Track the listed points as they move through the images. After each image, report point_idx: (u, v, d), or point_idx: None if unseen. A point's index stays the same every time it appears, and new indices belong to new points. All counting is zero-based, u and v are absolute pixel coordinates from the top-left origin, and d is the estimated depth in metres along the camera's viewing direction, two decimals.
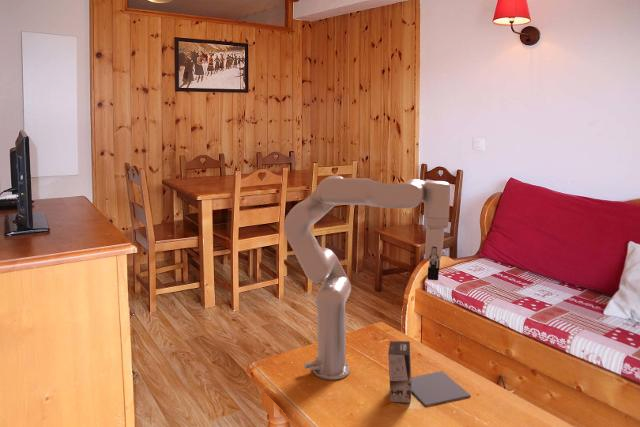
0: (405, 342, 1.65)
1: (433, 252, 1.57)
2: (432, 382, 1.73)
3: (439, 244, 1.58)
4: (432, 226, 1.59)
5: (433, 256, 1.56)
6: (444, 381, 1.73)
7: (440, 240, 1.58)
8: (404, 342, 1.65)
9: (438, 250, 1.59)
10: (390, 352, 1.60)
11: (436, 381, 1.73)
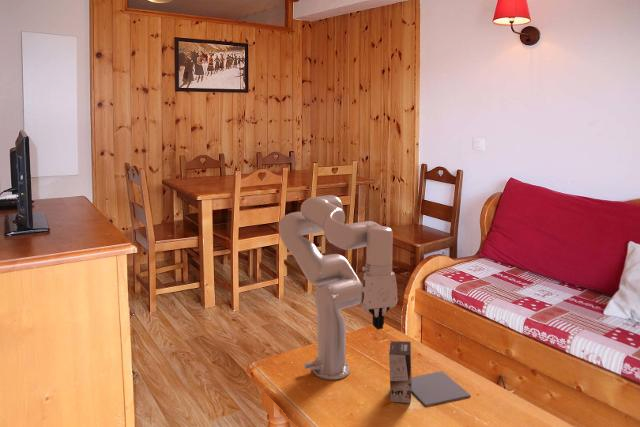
0: (406, 342, 1.65)
1: None
2: (432, 382, 1.73)
3: None
4: None
5: None
6: (444, 381, 1.73)
7: None
8: (405, 342, 1.65)
9: None
10: (391, 352, 1.60)
11: (436, 381, 1.73)
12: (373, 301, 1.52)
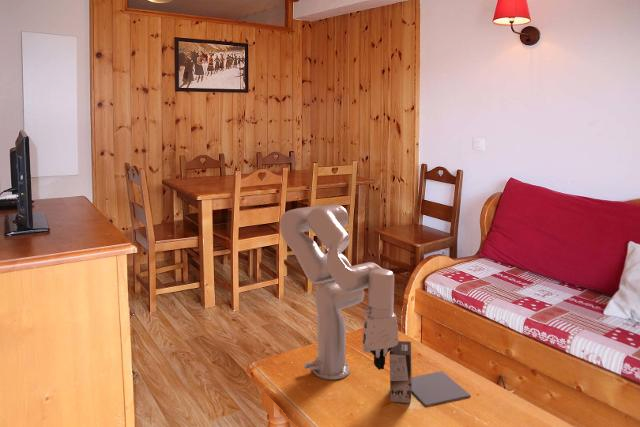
0: (406, 342, 1.65)
1: None
2: (432, 382, 1.73)
3: None
4: None
5: None
6: (444, 381, 1.73)
7: None
8: (405, 342, 1.65)
9: None
10: (391, 351, 1.60)
11: (436, 381, 1.73)
12: (374, 343, 1.56)
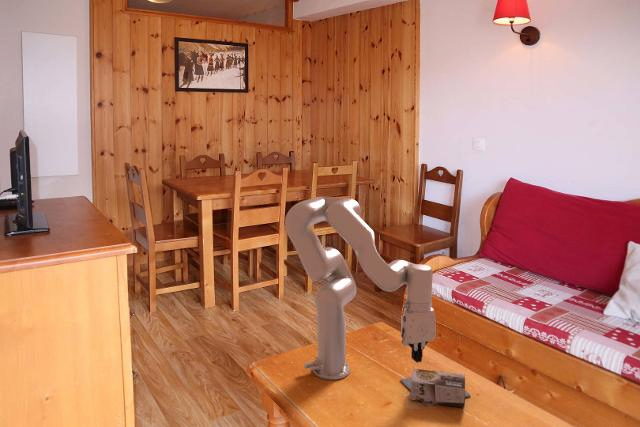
0: None
1: None
2: None
3: None
4: None
5: None
6: None
7: None
8: None
9: None
10: None
11: None
12: (413, 336, 1.60)
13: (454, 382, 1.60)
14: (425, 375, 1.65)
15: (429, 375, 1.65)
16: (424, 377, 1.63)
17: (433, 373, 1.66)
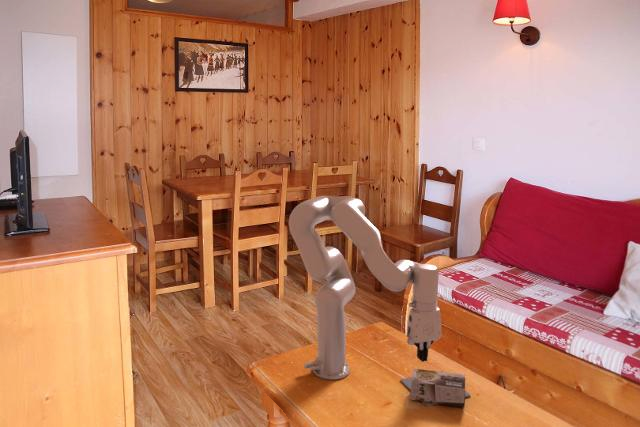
0: None
1: None
2: None
3: None
4: None
5: None
6: None
7: None
8: None
9: None
10: None
11: None
12: (419, 336, 1.61)
13: (454, 382, 1.60)
14: (425, 375, 1.65)
15: (429, 375, 1.65)
16: (424, 377, 1.63)
17: (433, 373, 1.66)
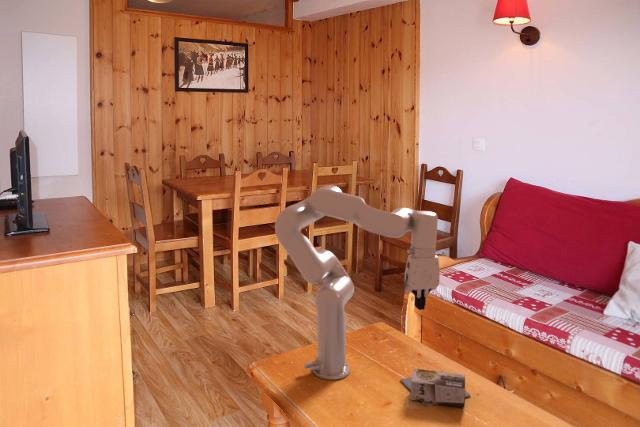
0: None
1: None
2: None
3: None
4: None
5: None
6: None
7: None
8: None
9: None
10: None
11: None
12: (417, 282, 1.59)
13: (454, 382, 1.60)
14: (425, 375, 1.65)
15: (429, 375, 1.65)
16: (424, 377, 1.63)
17: (433, 373, 1.66)
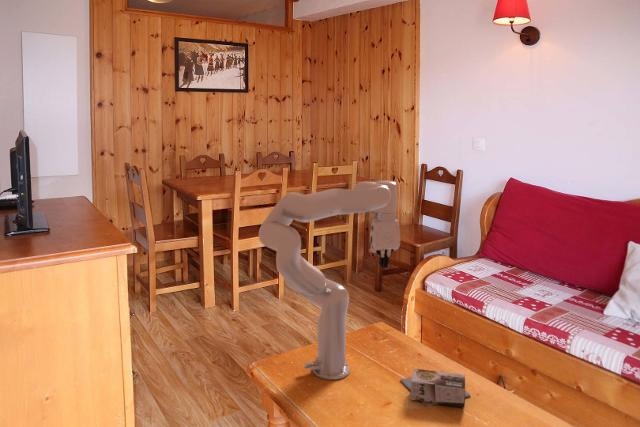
0: None
1: None
2: None
3: None
4: None
5: None
6: None
7: None
8: None
9: None
10: None
11: None
12: (380, 243, 1.82)
13: (454, 382, 1.60)
14: (425, 375, 1.65)
15: (429, 375, 1.65)
16: (424, 377, 1.63)
17: (433, 373, 1.66)
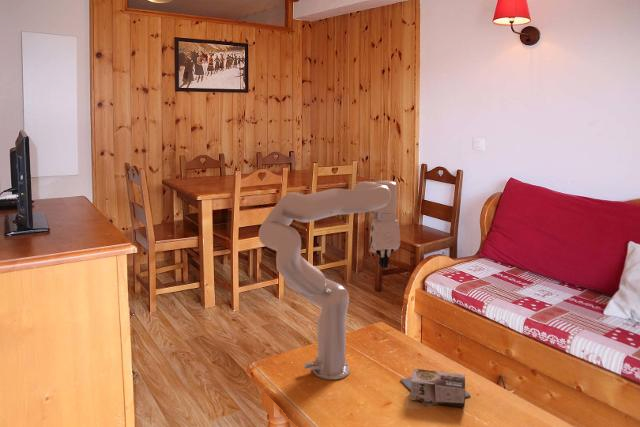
0: None
1: None
2: None
3: None
4: None
5: None
6: None
7: None
8: None
9: None
10: None
11: None
12: (380, 243, 1.82)
13: (454, 382, 1.60)
14: (425, 375, 1.65)
15: (429, 375, 1.65)
16: (424, 377, 1.63)
17: (433, 373, 1.66)
